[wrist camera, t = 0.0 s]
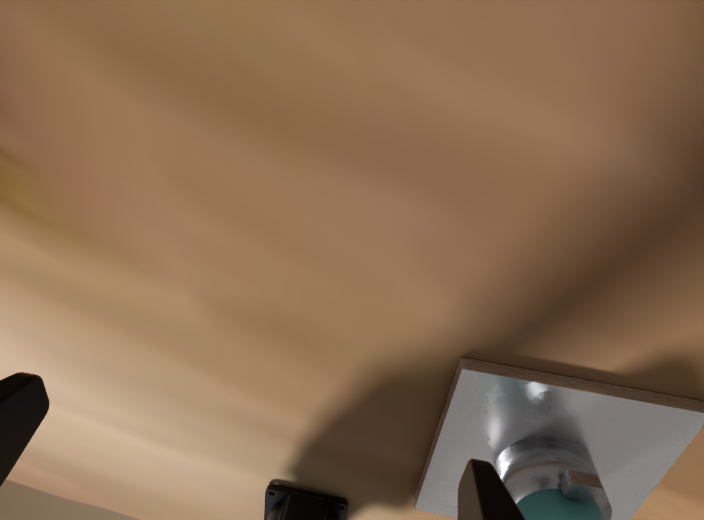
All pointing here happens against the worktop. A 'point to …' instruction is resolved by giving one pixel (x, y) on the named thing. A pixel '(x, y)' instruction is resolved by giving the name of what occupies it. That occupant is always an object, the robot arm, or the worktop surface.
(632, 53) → the worktop surface
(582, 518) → the teal cylinder
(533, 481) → the grey square plate
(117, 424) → the worktop surface
